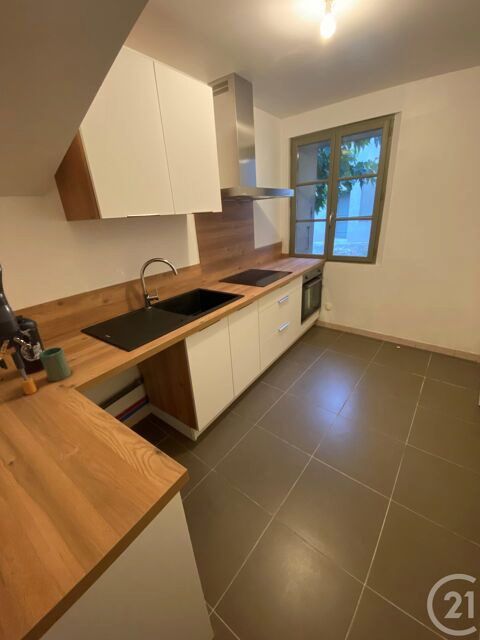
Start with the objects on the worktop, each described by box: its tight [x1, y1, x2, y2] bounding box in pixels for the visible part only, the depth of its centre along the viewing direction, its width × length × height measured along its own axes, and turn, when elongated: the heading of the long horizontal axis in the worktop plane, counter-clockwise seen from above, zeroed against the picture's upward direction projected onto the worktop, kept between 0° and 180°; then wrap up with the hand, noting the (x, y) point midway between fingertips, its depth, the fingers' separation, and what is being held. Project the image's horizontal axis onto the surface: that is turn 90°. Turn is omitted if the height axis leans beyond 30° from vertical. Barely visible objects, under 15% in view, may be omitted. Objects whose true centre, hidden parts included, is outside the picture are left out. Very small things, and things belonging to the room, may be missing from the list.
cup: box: [39, 346, 72, 382], centre depth 102 cm, size 8×8×11 cm
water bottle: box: [13, 314, 45, 374], centre depth 107 cm, size 10×10×23 cm
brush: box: [10, 351, 38, 395], centre depth 92 cm, size 3×3×16 cm
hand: (19, 363), depth 91 cm, fingers open, 7 cm apart
